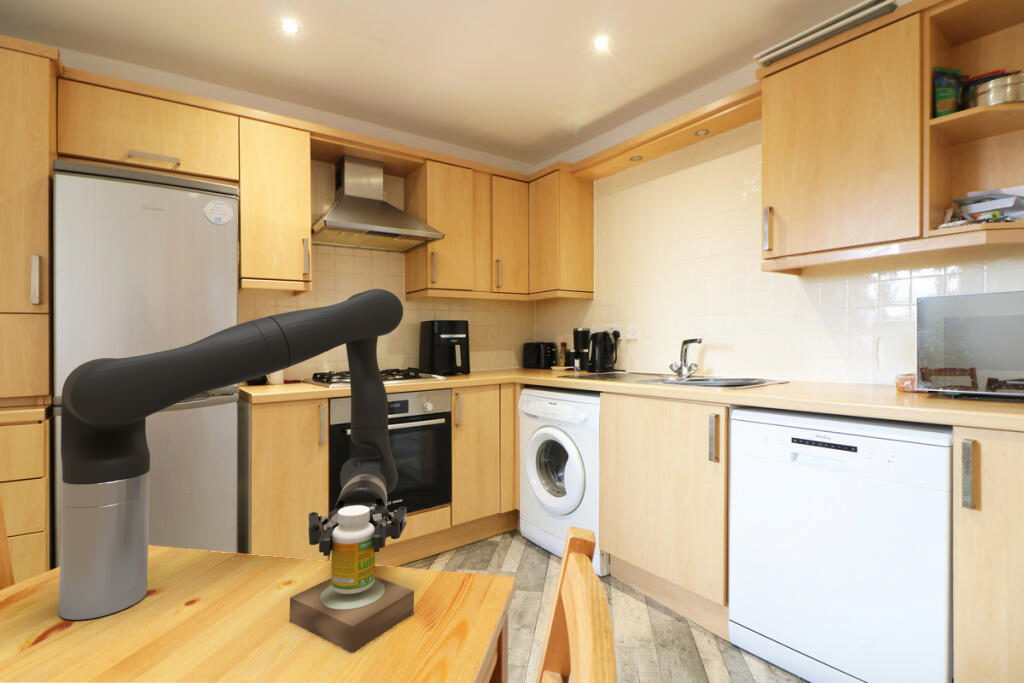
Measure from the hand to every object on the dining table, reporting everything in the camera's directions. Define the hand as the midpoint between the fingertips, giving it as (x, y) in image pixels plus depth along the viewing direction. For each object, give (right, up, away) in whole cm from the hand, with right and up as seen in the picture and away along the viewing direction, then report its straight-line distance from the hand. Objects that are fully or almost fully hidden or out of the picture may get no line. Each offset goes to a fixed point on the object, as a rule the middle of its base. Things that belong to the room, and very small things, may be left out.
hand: (352, 546), depth 61 cm
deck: (-1, -10, +2) cm, 10 cm away
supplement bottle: (-1, -6, +2) cm, 7 cm away
